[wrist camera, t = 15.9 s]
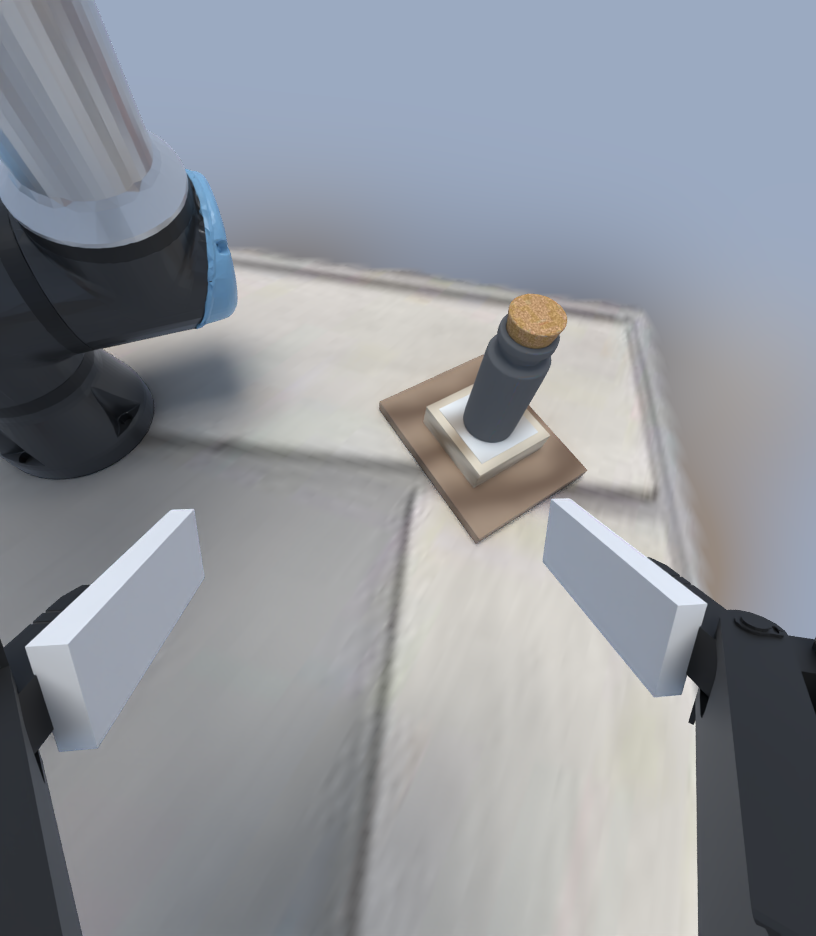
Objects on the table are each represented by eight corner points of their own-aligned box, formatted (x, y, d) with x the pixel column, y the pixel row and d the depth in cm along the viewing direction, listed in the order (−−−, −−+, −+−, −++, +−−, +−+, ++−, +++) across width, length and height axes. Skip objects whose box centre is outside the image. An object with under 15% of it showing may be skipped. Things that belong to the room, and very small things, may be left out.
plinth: (379, 409, 51) (380, 385, 46) (480, 362, 56) (489, 337, 52) (475, 543, 44) (487, 529, 40) (581, 476, 49) (600, 457, 45)
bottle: (506, 398, 47) (561, 287, 34) (520, 441, 45) (585, 339, 31) (457, 401, 46) (494, 289, 33) (468, 445, 44) (512, 342, 31)
